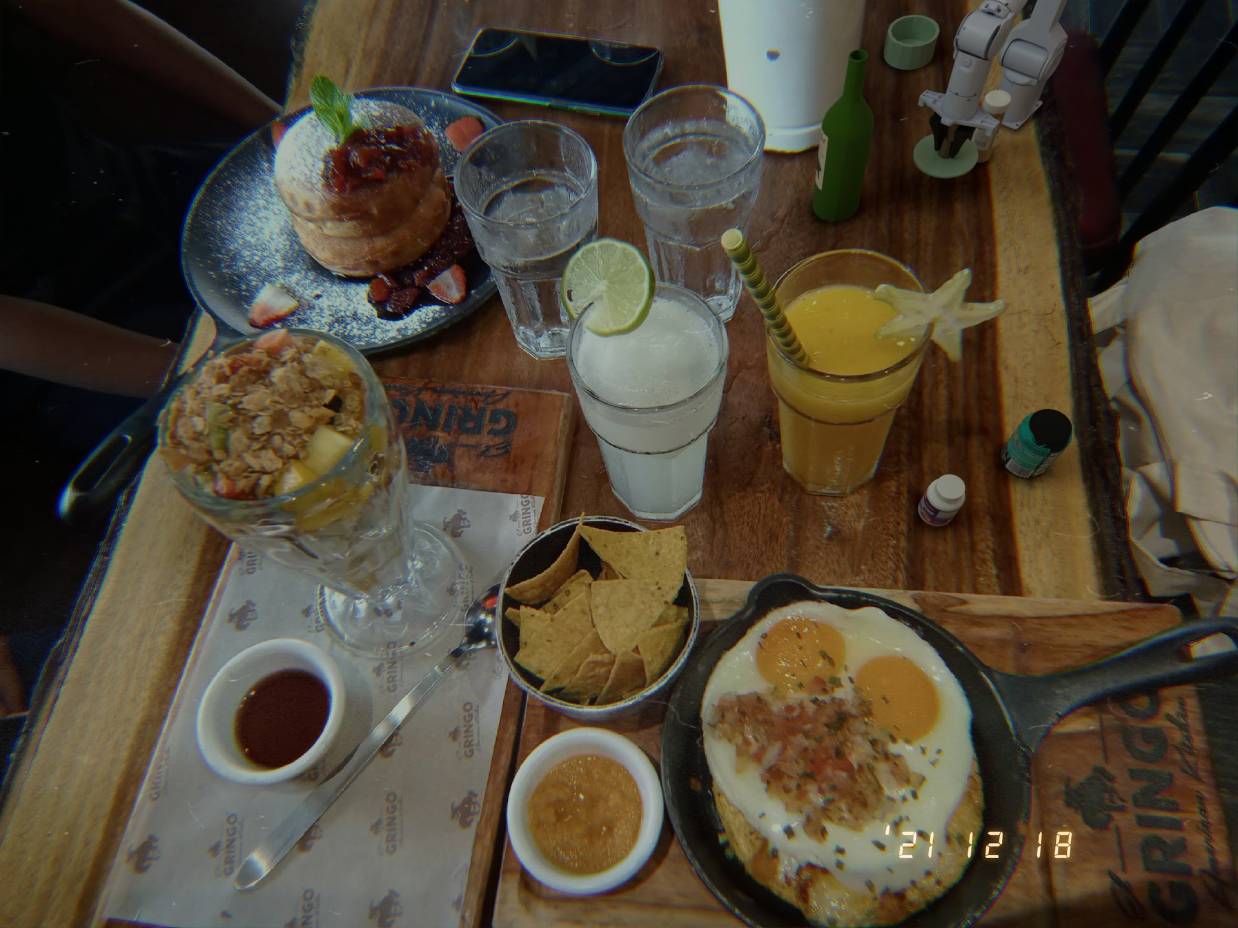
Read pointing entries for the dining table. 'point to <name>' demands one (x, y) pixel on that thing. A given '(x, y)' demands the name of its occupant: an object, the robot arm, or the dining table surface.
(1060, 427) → the teal spice jar
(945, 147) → the canister lid
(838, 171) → the wine bottle
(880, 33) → the dining table surface
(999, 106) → the sprinkles bottle
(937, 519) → the pill bottle
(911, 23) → the canister
